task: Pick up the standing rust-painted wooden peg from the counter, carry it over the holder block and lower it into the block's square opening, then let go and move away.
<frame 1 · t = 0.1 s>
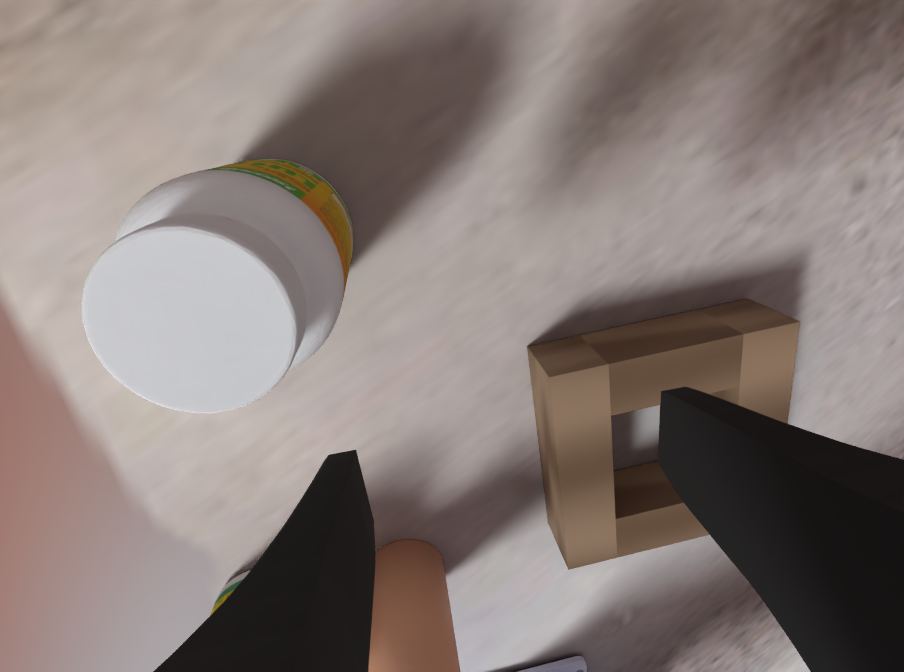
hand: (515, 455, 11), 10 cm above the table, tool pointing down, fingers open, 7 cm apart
supplement bottle 2: (272, 597, 25), on the table
supplement bottle: (282, 232, 19), on the table
peg: (405, 568, 26), on the table
socket: (640, 419, 24), on the table
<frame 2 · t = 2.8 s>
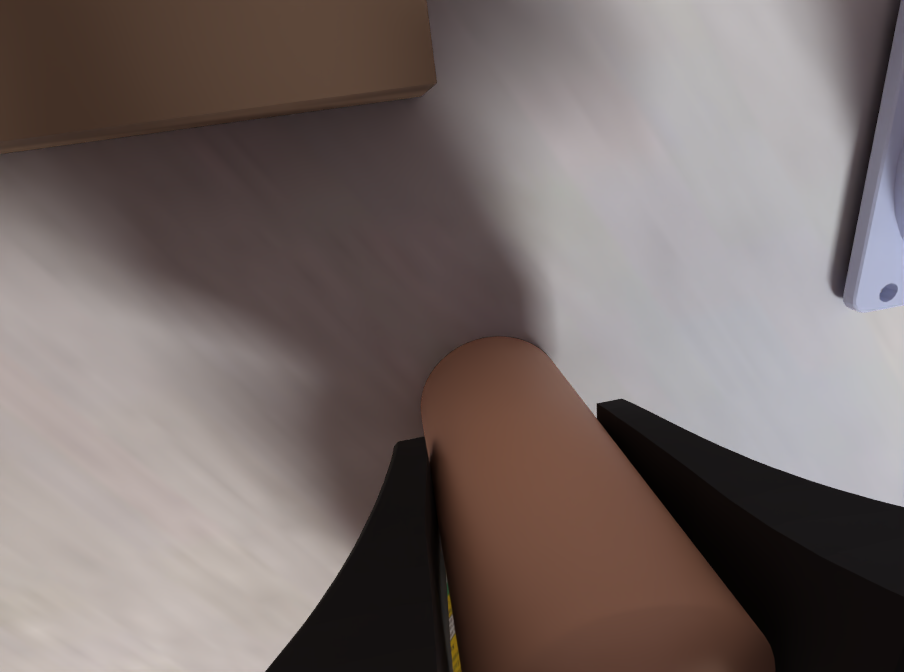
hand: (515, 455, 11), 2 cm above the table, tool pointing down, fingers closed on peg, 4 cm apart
supplement bottle 2: (511, 578, 17), on the table
peg: (492, 403, 14), on the table, touching gripper
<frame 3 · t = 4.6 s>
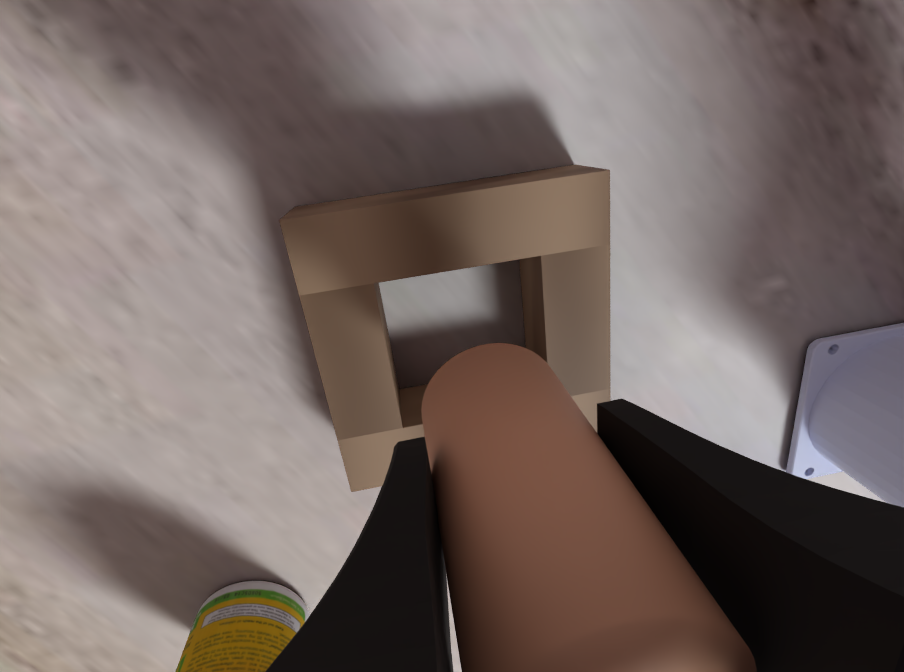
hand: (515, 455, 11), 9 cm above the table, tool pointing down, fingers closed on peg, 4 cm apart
supplement bottle: (256, 613, 25), on the table
peg: (491, 407, 14), point 7 cm above the table, touching gripper
socket: (455, 317, 20), on the table
when the fingers open (4 cm above the table, at t = 6.6 s): peg drops 2 cm, resting in socket.
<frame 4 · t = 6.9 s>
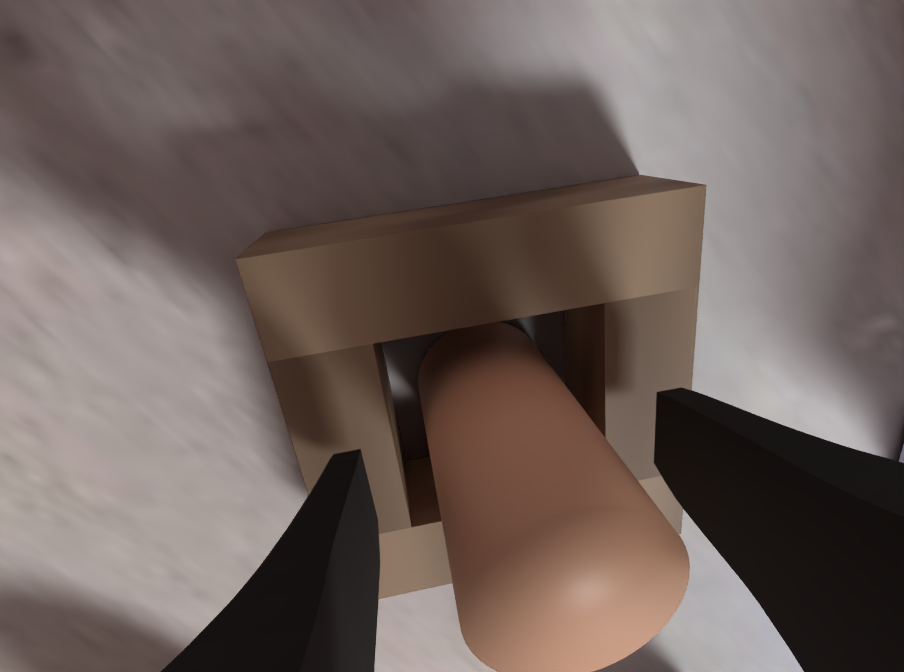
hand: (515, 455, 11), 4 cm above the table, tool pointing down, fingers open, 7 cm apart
peg: (481, 379, 16), resting in socket
socket: (479, 371, 15), on the table
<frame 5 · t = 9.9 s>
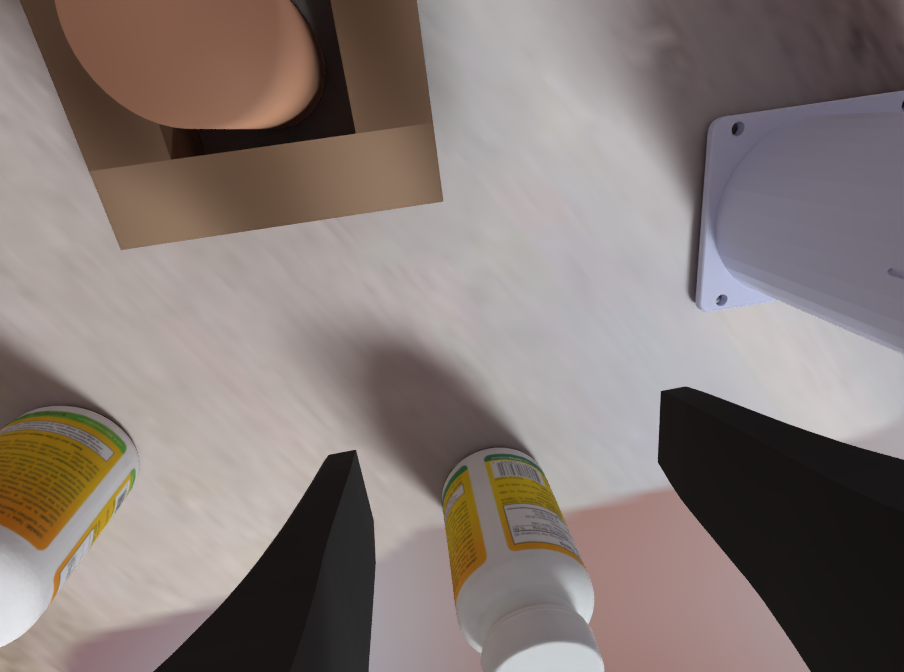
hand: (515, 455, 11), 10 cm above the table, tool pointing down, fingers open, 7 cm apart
supplement bottle 2: (491, 485, 25), on the table
supplement bottle: (78, 452, 22), on the table
peg: (265, 65, 17), resting in socket
socket: (261, 56, 17), on the table
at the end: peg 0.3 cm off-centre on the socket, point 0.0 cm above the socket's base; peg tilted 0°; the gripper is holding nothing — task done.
